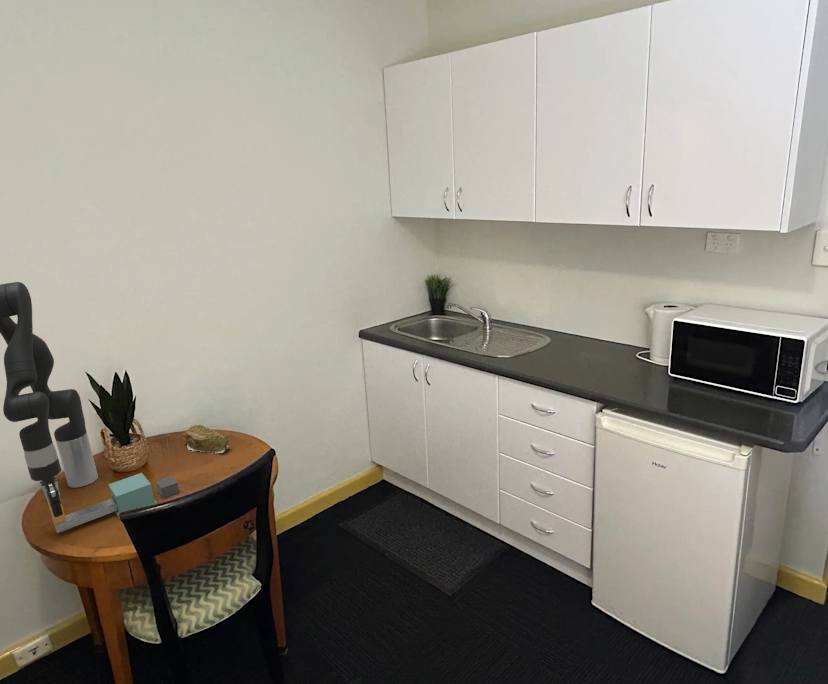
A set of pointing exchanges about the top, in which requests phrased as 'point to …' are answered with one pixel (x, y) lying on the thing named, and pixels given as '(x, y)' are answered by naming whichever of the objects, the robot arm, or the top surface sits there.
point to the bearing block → (132, 493)
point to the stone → (205, 439)
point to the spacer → (167, 487)
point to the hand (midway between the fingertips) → (57, 512)
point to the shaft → (82, 514)
